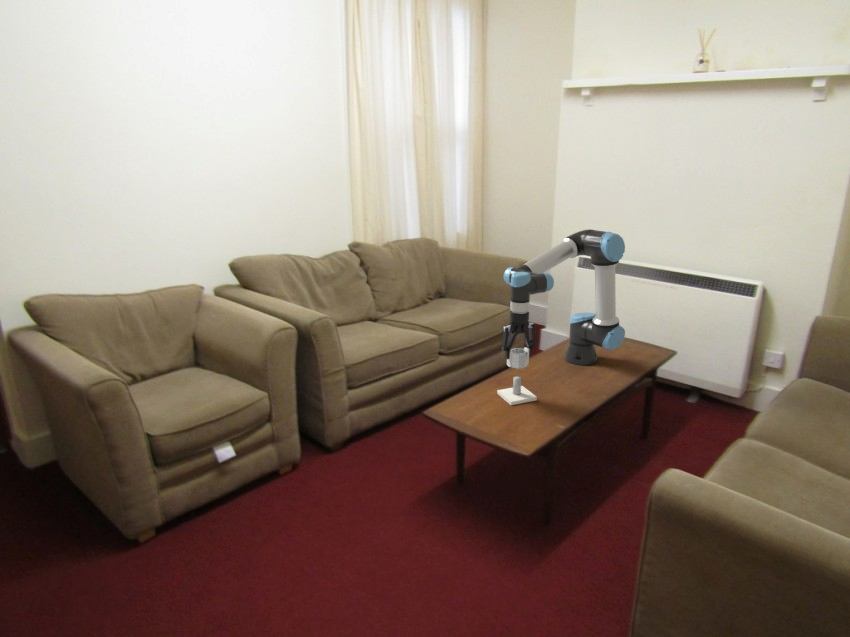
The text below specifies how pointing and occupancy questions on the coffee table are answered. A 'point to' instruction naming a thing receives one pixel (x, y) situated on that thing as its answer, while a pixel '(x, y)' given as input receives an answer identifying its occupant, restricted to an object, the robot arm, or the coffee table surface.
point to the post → (516, 393)
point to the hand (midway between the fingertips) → (517, 364)
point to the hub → (519, 358)
